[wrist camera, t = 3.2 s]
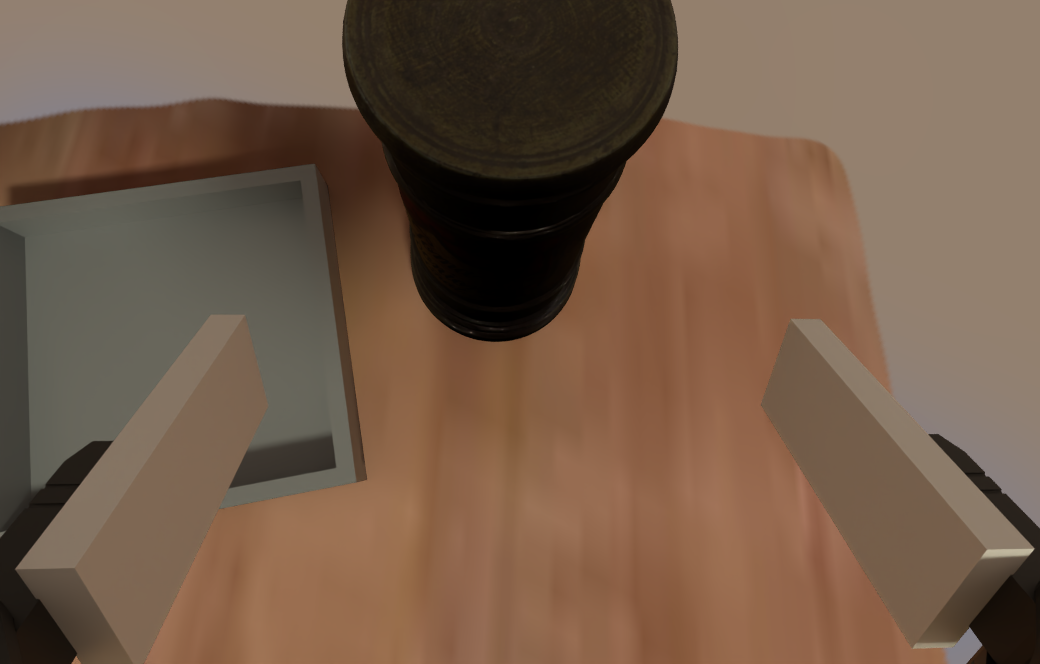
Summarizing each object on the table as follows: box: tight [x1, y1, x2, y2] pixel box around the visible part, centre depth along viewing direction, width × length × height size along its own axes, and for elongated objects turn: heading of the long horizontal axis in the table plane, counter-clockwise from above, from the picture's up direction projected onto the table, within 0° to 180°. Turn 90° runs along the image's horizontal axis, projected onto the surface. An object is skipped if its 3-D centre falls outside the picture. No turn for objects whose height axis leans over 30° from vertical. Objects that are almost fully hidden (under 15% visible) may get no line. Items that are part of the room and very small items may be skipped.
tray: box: [0, 164, 367, 538], centre depth 28 cm, size 16×16×2 cm
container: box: [342, 0, 678, 342], centre depth 23 cm, size 9×9×18 cm
